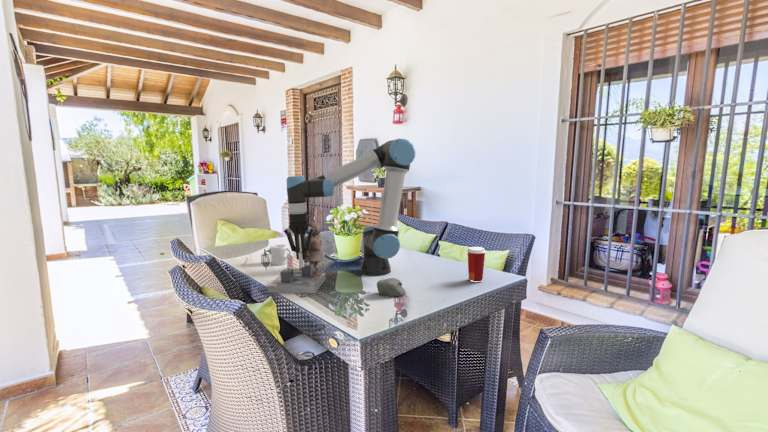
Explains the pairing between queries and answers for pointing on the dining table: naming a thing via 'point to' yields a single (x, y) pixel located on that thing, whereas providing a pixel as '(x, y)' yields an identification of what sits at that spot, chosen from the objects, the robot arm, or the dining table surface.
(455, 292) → the dining table surface
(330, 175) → the robot arm
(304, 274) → the block
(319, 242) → the clay figurine
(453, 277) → the dining table surface
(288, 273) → the slider near
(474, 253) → the beer glass
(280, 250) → the mug
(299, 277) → the switch unit
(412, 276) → the dining table surface
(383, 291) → the stone
